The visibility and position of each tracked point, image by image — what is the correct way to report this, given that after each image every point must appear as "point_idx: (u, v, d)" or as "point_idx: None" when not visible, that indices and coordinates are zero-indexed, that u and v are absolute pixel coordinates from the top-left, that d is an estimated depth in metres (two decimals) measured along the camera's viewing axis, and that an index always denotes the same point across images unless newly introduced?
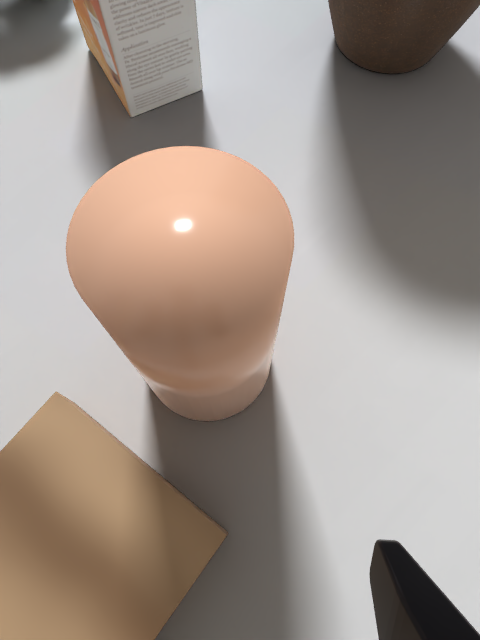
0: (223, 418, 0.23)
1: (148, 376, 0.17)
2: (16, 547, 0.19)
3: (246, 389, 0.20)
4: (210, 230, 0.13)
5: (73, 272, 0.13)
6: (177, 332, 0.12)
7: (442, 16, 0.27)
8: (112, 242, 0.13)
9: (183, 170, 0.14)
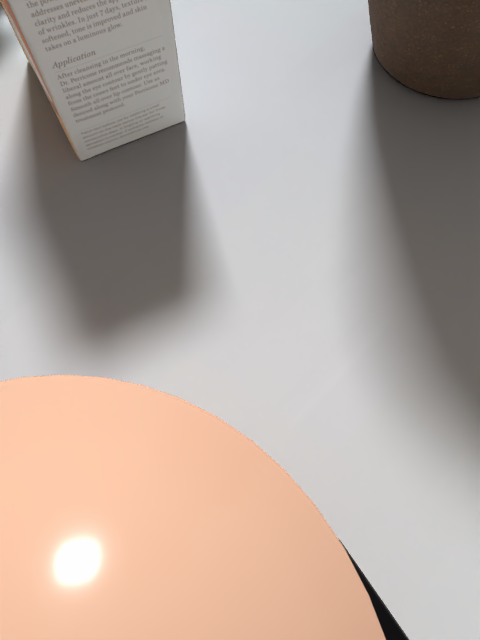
0: None
1: None
2: None
3: None
4: None
5: None
6: None
7: None
8: None
9: (46, 469, 0.05)
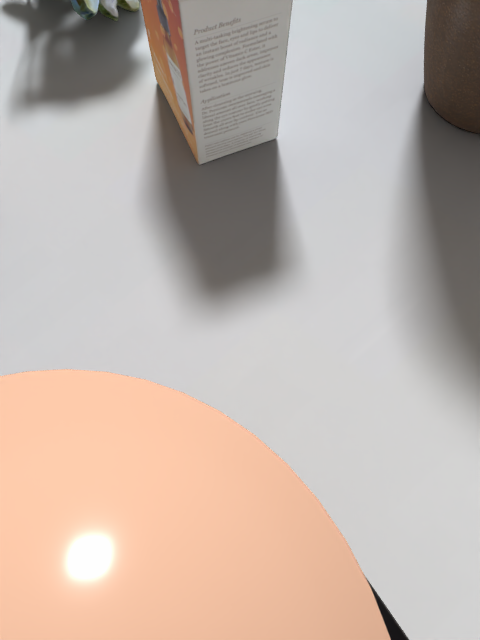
0: None
1: None
2: None
3: None
4: None
5: None
6: None
7: None
8: None
9: (50, 464, 0.05)
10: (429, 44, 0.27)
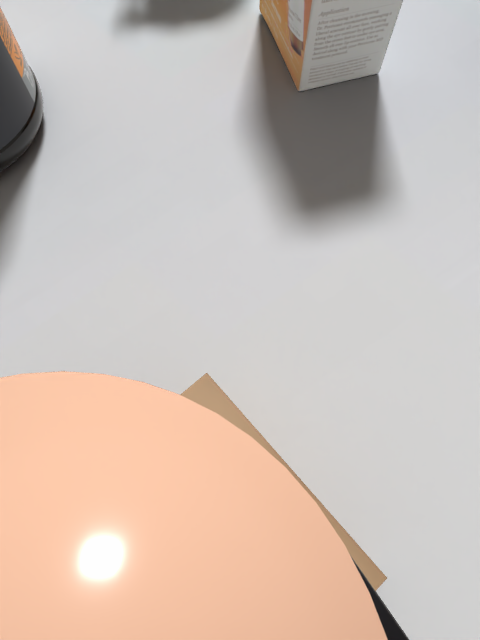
0: None
1: None
2: None
3: None
4: None
5: None
6: None
7: None
8: None
9: (46, 466, 0.05)
10: None
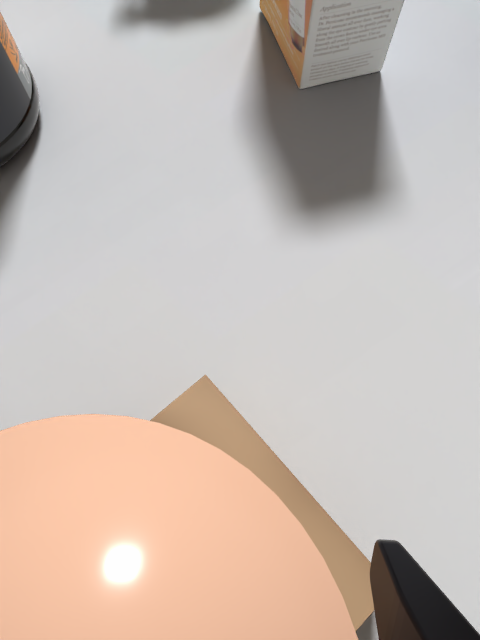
0: None
1: None
2: None
3: None
4: None
5: None
6: None
7: None
8: None
9: (82, 494, 0.06)
10: None
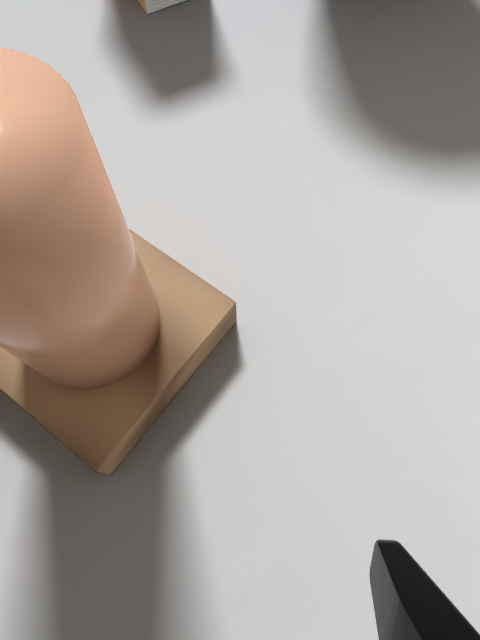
0: (114, 381, 0.21)
1: None
2: None
3: (117, 336, 0.18)
4: None
5: None
6: None
7: None
8: None
9: None
10: None
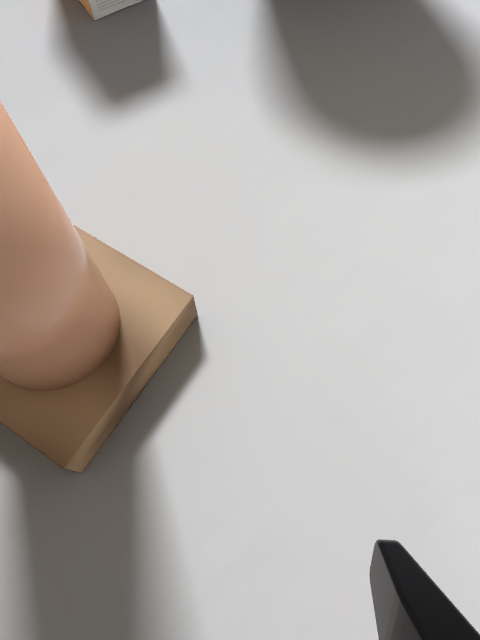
0: (78, 380, 0.22)
1: None
2: None
3: (73, 335, 0.18)
4: None
5: None
6: None
7: None
8: None
9: None
10: None
